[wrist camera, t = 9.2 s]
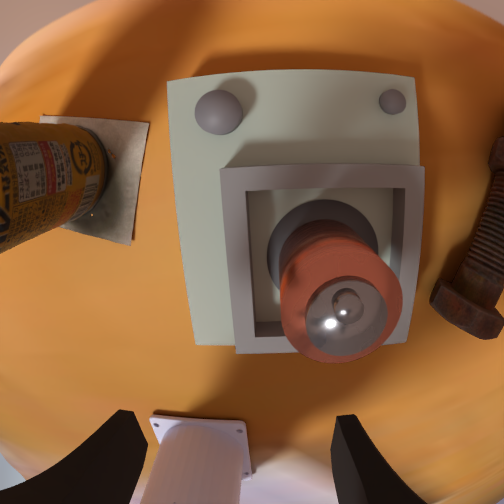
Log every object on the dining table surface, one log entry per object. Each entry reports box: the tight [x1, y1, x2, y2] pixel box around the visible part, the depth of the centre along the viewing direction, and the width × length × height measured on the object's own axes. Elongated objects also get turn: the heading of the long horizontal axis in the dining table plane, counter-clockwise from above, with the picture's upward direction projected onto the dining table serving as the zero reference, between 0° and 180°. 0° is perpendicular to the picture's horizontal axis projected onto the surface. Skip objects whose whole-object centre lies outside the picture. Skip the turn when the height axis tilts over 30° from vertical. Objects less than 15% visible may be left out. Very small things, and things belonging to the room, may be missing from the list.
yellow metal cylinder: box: [0, 116, 149, 254], centre depth 11 cm, size 7×8×12 cm
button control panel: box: [167, 69, 425, 354], centre depth 15 cm, size 14×12×4 cm
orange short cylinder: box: [278, 219, 403, 363], centre depth 12 cm, size 4×4×6 cm
